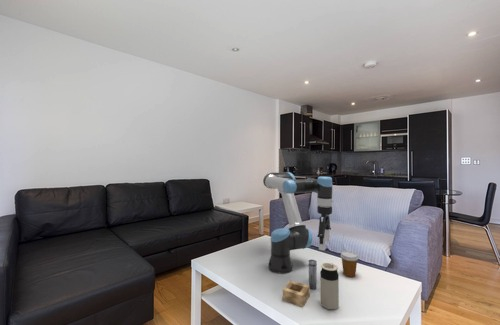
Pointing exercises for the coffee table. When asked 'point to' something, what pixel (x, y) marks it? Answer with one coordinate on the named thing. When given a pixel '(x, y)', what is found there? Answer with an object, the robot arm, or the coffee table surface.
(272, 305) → the coffee table surface
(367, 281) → the coffee table surface
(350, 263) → the disposable coffee cup
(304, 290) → the square frame
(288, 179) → the robot arm
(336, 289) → the travel mug
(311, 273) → the metal canister
